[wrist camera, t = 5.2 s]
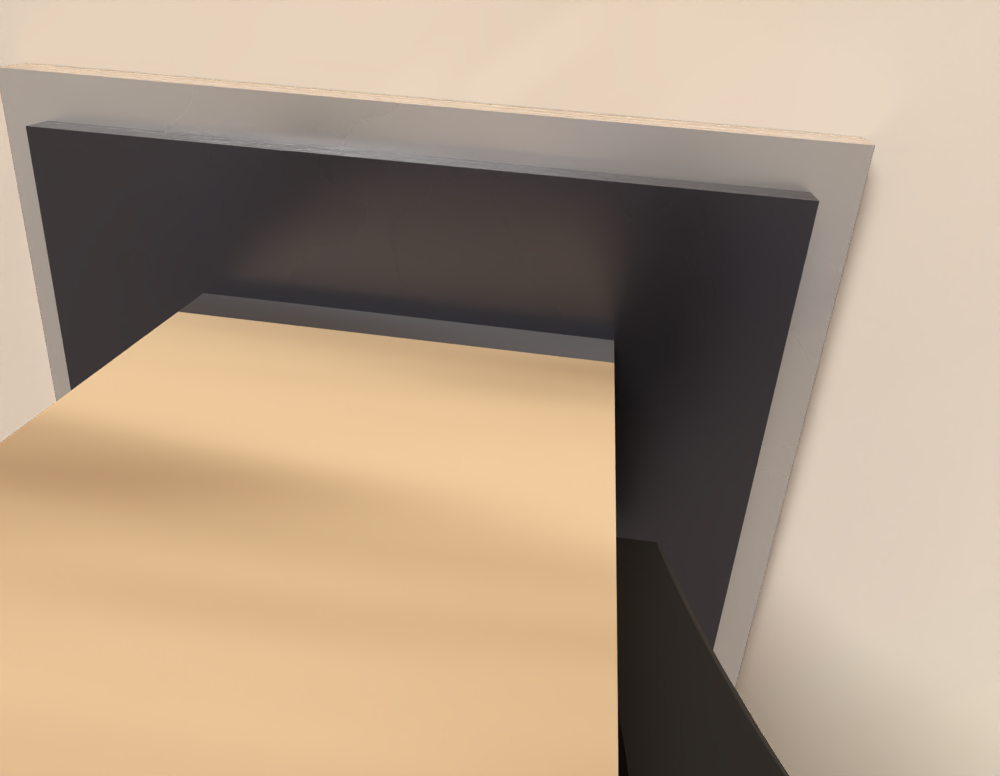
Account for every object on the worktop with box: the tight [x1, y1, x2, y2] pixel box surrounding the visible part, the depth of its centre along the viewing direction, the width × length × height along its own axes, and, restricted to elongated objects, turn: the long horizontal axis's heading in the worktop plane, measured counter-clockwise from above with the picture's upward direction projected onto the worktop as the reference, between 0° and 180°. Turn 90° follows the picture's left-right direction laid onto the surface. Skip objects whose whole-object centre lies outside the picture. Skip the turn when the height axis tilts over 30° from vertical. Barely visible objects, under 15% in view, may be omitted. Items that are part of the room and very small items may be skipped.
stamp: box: [0, 293, 618, 776], centre depth 7 cm, size 4×4×6 cm
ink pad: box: [0, 63, 875, 687], centre depth 10 cm, size 9×9×1 cm
